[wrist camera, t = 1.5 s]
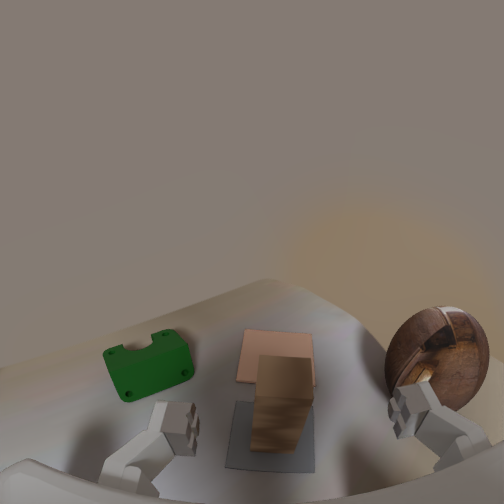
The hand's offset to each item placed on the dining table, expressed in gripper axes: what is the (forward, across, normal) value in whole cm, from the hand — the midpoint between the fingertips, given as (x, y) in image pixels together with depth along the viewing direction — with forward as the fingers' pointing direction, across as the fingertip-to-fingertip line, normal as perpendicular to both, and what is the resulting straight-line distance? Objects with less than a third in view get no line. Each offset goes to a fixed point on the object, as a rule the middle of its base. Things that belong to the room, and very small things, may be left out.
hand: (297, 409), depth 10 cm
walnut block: (+13, +1, +22) cm, 25 cm away
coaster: (+27, -1, +21) cm, 34 cm away
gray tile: (+13, +1, +22) cm, 26 cm away
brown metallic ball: (+17, -21, +24) cm, 36 cm away
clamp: (+21, +17, +20) cm, 34 cm away
